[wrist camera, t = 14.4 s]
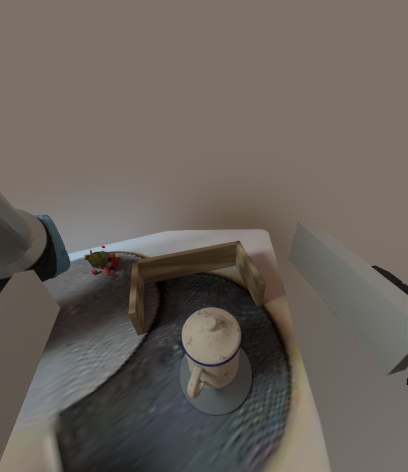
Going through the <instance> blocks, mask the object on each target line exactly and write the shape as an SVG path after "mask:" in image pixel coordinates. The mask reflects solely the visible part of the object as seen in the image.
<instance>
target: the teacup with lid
mask: <svg viewBox="0 0 408 472" xmlns="http://www.w3.org/2000/svg"><path fill="white" fill-rule="evenodd" d="M181 342H182V346H183V349H184V351H185V353H186V357H187V361H188V365H189V370H190V373H191V377H190V380H189V383H188V388H187V393H188V395H189V396H190V397H191V398H193V399H195V398H197V397H198V396H199V395H200V393H201V391H202V389H203V387H205V388H209V389H219V388H222V387H224V386H226V385H228V384H229V383H230V382H231V381H232V380H233V379H234V377H235V376H236V373H237V371H238V366H239V350H240V346H241V342H242V333H241V329H240V326H239V324H238V322H237V321H236V319H235V318H234V317H233V316H232V315H231V314H230V313H228V312H227V311H225V310H223V309H220V308H214V307H210V308H204V309H201V310H198V311H196V312H195V313H193V314H192V315H191V316H190V317H189V318H188V319H187V321H186V322H185V324H184V327H183V329H182V334H181Z"/></svg>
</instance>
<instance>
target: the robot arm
mask: <svg viewBox="0 0 408 472" xmlns="http://www.w3.org/2000/svg"><path fill="white" fill-rule="evenodd" d="M289 260H290V261H291V262H292V264H293V265H294V266H295V267H296V269H297V270H298V271H299V272H300V273H301V274H302V276H303V277H304V278H305V279H306V280H307V281H308V283H309V284H310V285H311V286H312V287H313V289H314V290H315V291H316V292H317V293H318V294H319V296H320V297H321V298H322V299H323V300H324V302H325V303H326V304H327V305H328V306H329V308H330V309H331V310H332V311H333V312H334V313H335V315H336V316H337V317H338V318H339V319H340V320H341V322H342V323H343V324H344V325H345V326H346V328H347V329H348V330H349V331H350V332H351V333H352V335H353V336H354V337H355V338H356V339H357V341H358V342H359V343H360V344H361V345H362V346H363V347H364V349H365V350H366V351H367V352H368V354H369V355H370V356H371V357H372V358H373V359H374V361H375V362H376V363H377V364H378V365H379V367H380V368H381V369H382V370H383V371H384V373H385V374H386V375H390V374H393V373H396V372H399V371H402V370H405V369H406V368H407V367H408V286H407V285H406V284H403V283H402V281H400V280H399V279H398V278H396V277H395V276H394V275H392V274H391V273H390V272H388V271H386V270H383V269H382V268H379V267H377V266H370V265H368V264H367V263H366V262H365V261H363V260H362V259H361V258H359V257H358V256H357V255H356V254H354V253H353V252H352V251H351V250H349V249H348V248H347V247H345V246H344V245H343V244H342V243H340V242H339V241H338V240H337V239H335V238H334V237H333V236H331V235H330V234H329V233H328V232H326V231H325V230H324V229H322V228H321V227H320V226H319V225H317V224H316V223H314V222H313V221H312V220H311V219H305V220H300V221H297V224H296V229H295V234H294V238H293V243H292V247H291V252H290V256H289ZM69 267H70V259H69V256H68V253H67V251H66V250H65V246H64V243H63V241H62V239H61V236H60V234H59V232H58V230H57V228H56V226H55V224H54V223H53V221H52V219H51V218H50V217H49V216H48V215H36V216H33V215H32V214H30V213H28V212H25V211H23V210H19V209H14V208H13V206H12V205H11V204H10V203H9V202H8V201H7V200H6V198H5V197H4V196H3V195H2V194H1V193H0V460H1V458H2V455H3V453H4V450H5V447H6V445H7V442H8V440H9V437H10V435H11V432H12V430H13V427H14V425H15V422H16V419H17V417H18V414H19V412H20V409H21V407H22V404H23V402H24V399H25V397H26V394H27V392H28V389H29V386H30V384H31V381H32V379H33V376H34V374H35V371H36V369H37V366H38V364H39V361H40V358H41V356H42V353H43V351H44V348H45V346H46V343H47V341H48V338H49V336H50V333H51V331H52V328H53V325H54V323H55V320H56V318H57V315H58V313H59V310H60V306H59V305H58V304H57V302H56V301H55V299H54V298H53V297H52V295H51V294H50V292H49V291H48V290H47V288H46V287H45V285H44V284H43V283H42V282H44V281H46V280H48V279H52V278H55V277H57V275H59V274H61V273H63V272H65V271H67V270H68V269H69ZM407 385H408V379H407Z"/></svg>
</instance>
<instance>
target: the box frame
mask: <svg viewBox="0 0 408 472" xmlns="http://www.w3.org/2000/svg"><path fill="white" fill-rule="evenodd" d="M235 265H236V267H237V269H238V271H239V272H240V274H241V276H242V278H243V280H244V282H245V284H246V286H247V288H248V290H249V292H250V294H251V296H252V298H253V300H254V302H255V304H256V306H257V307H258V306H262V304H263V297H264V290H265V281H264V280H263V278H262V277H261V275H260V273H259V272H258V270H257V268H256V267H255V265H254V264H253V262H252V260H251V259H250V257H249V256H248V254H247V252H246V251H245V249H244V248H243V246H242V244H241V243H240V241H235V242H230V243H225V244H219V245H214V246H209V247H204V248H198V249H193V250H188V251H183V252H177V253H172V254H167V255H162V256H156V257H151V258H146V259H141V260H135V261H132V273H131V286H130V299H129V311H128V314H129V316H130V319H131V321H132V323H133V326H134V328H135V330H136V332H137V335H141V334H144V284H148V283H153V282H157V281H162V280H167V279H172V278H177V277H182V276H186V275H191V274H196V273H201V272H206V271H210V270H215V269H220V268H225V267H230V266H235Z"/></svg>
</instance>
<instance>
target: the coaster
mask: <svg viewBox="0 0 408 472" xmlns="http://www.w3.org/2000/svg"><path fill="white" fill-rule="evenodd" d="M190 377H191V373H190V370H189V365H188V361H187V357H186V353H185V355H184V357H183V360H182V363H181V367H180V382H181V386H182V390H183V392H184V394H185V396H186V398H187V400H188V401H189V402H190V403H191V405H193V406H194V407H195V408H196V409H197V410H199V411H201V412H203V413H205V414H208V415H214V416H218V415H225V414H228V413H230V412H232V411H234V410H236V409H237V408H238V407H239V406H240V405H241V404H242V403H243V402H244V400H245V399H246V397H247V395H248V393H249V390H250V387H251V382H252V370H251V365H250V362H249V359H248V357H247V355H246V353H245V352H244V350H243V349H242V348H241V347H240V350H239V366H238V371H237V373H236V376H235V377H234V379H233V380H232V381H231V382H230V383H229V384H228V385H226V386H224V387H222V388H219V389H209V388H205V387H203V389H202V391H201V393H200V395H199V396H198V397H197V398H195V399H193V398H191V397H190V396H189V395H188V393H187V388H188V383H189V380H190Z"/></svg>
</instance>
